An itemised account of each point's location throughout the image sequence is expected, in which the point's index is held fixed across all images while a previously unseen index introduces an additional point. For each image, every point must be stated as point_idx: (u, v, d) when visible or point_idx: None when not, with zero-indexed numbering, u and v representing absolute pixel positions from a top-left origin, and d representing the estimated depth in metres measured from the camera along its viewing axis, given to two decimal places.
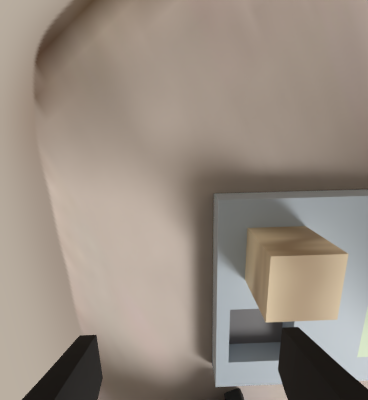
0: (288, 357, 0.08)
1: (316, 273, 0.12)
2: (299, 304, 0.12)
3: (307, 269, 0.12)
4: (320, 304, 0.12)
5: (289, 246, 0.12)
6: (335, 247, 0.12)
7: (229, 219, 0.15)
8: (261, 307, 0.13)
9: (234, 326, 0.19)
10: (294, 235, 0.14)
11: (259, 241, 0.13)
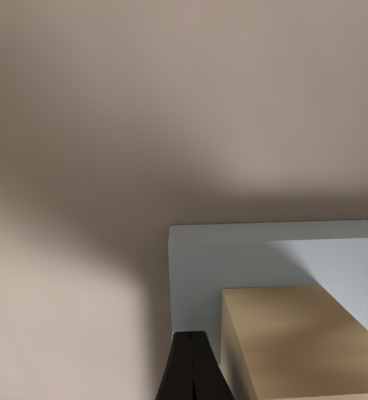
0: None
1: None
2: None
3: None
4: None
5: (296, 353, 0.06)
6: None
7: (188, 275, 0.09)
8: None
9: None
10: (304, 313, 0.08)
11: (239, 332, 0.07)
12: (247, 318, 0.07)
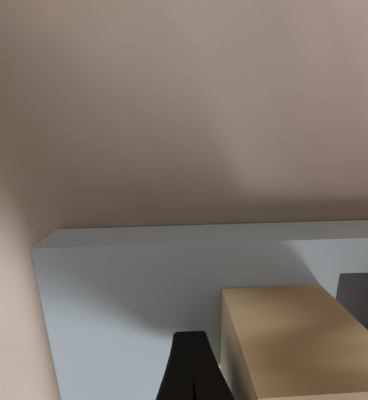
0: None
1: None
2: None
3: None
4: None
5: (296, 351, 0.06)
6: None
7: (56, 279, 0.09)
8: None
9: None
10: (303, 313, 0.08)
11: (239, 332, 0.07)
12: (247, 317, 0.07)
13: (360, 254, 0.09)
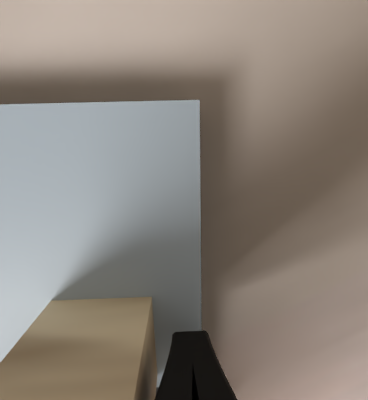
0: None
1: None
2: None
3: None
4: None
5: None
6: None
7: (158, 125, 0.07)
8: None
9: None
10: (151, 383, 0.08)
11: (144, 345, 0.07)
12: (147, 341, 0.08)
13: None
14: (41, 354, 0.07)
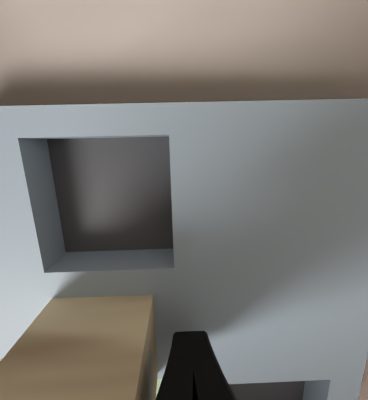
0: None
1: None
2: None
3: None
4: None
5: None
6: None
7: None
8: None
9: (95, 160, 0.09)
10: (152, 381, 0.08)
11: (145, 342, 0.07)
12: (148, 339, 0.08)
13: (345, 390, 0.11)
14: (43, 351, 0.07)
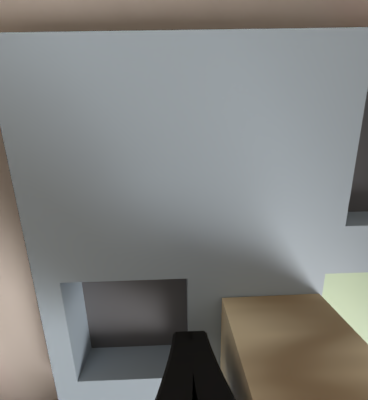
0: None
1: None
2: None
3: None
4: None
5: (295, 364, 0.06)
6: None
7: (15, 82, 0.07)
8: None
9: (104, 317, 0.11)
10: (302, 323, 0.08)
11: (239, 343, 0.07)
12: (246, 328, 0.08)
13: None
14: None
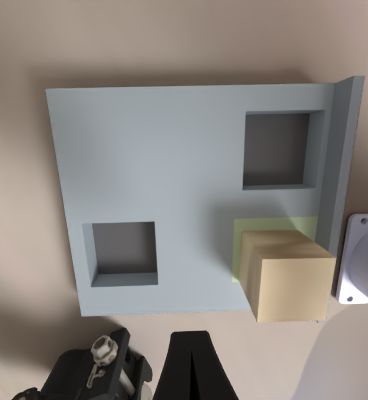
0: None
1: (305, 276, 0.12)
2: (289, 305, 0.13)
3: (297, 272, 0.12)
4: (309, 305, 0.13)
5: (280, 249, 0.13)
6: (324, 251, 0.13)
7: (61, 112, 0.14)
8: (253, 307, 0.14)
9: (107, 253, 0.18)
10: (286, 239, 0.14)
11: (253, 244, 0.14)
12: (256, 240, 0.14)
13: (257, 96, 0.14)
14: (249, 289, 0.14)
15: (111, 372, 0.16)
